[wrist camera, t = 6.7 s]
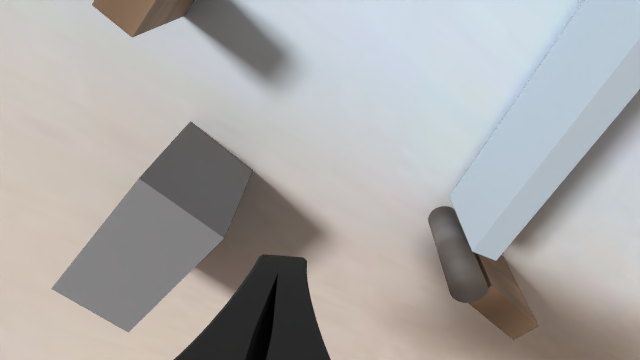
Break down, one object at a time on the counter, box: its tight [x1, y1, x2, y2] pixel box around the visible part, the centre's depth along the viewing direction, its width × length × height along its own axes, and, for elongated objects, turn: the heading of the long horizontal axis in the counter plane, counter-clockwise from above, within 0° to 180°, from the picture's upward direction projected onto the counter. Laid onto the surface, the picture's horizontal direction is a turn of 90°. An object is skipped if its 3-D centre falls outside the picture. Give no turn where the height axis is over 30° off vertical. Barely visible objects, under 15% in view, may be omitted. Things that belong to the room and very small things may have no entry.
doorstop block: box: [52, 121, 253, 332], centre depth 20 cm, size 4×8×6 cm, turn 138°
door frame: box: [92, 0, 539, 340], centre depth 18 cm, size 28×2×5 cm, turn 48°
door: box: [449, 0, 640, 260], centre depth 17 cm, size 12×2×4 cm, turn 157°
